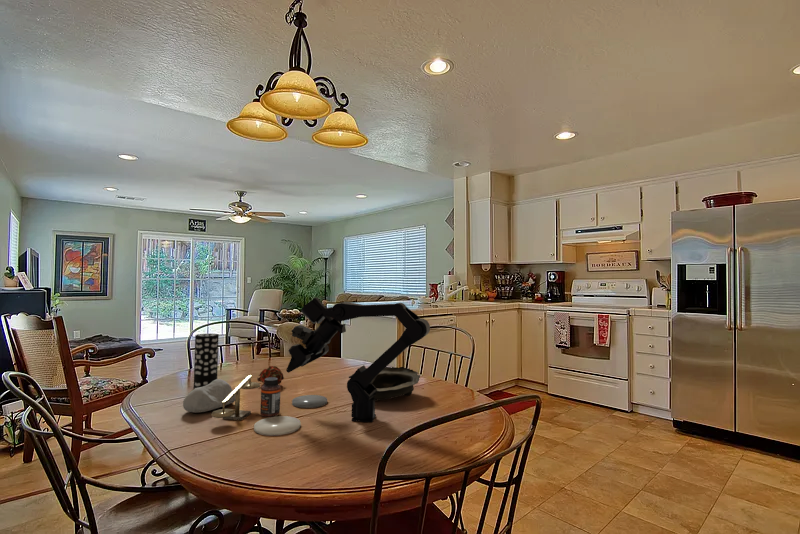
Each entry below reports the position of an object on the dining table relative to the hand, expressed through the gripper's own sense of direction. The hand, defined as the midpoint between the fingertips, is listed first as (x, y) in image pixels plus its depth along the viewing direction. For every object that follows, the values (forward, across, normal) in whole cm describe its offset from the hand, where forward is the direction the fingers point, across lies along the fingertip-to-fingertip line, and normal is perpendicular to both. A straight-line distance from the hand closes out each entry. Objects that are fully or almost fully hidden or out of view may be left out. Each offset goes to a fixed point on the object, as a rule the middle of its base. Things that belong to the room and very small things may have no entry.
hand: (294, 368), depth 136 cm
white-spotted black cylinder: (+41, -17, -27) cm, 52 cm away
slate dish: (+10, -10, +10) cm, 17 cm away
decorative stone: (+28, +6, -11) cm, 31 cm away
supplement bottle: (+14, +5, +5) cm, 16 cm away
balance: (+20, +10, -2) cm, 22 cm away
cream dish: (+9, +14, +11) cm, 20 cm away
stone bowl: (-5, -25, +28) cm, 38 cm away
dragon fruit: (+26, -26, -9) cm, 37 cm away
